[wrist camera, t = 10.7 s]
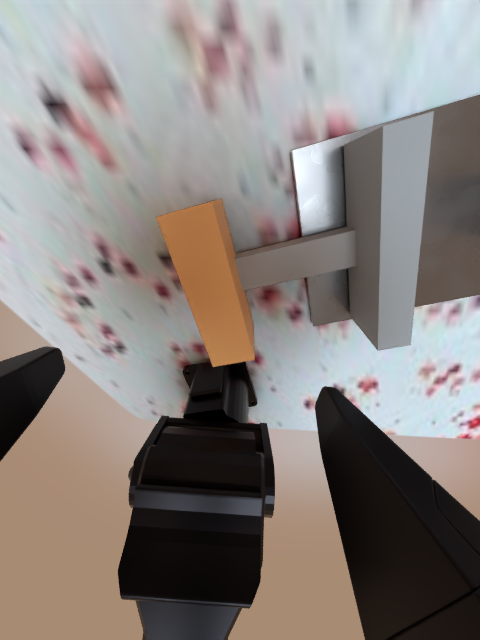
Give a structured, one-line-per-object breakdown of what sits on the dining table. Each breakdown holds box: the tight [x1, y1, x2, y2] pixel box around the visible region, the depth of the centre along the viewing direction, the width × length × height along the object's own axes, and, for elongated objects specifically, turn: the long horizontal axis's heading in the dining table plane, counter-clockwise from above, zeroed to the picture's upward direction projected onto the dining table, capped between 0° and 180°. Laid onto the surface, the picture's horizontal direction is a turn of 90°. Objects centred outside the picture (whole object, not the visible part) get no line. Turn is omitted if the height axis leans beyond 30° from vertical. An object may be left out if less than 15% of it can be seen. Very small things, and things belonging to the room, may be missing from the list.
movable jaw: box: [156, 111, 434, 367], centre depth 16 cm, size 12×13×5 cm
